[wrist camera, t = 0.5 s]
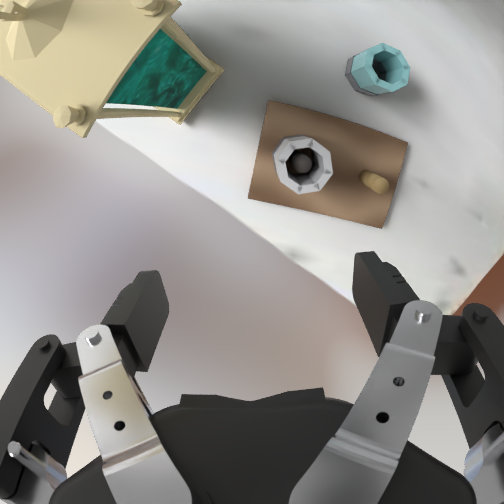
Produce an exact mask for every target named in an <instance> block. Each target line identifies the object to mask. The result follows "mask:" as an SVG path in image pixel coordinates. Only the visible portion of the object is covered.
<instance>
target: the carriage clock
mask: <svg viewBox="0 0 504 504" xmlns="http://www.w3.org/2000/svg"><path fill="white" fill-rule="evenodd" d="M181 5H182V4H181V2H180V1H178V0H0V75H1V76H2V77H3V78H5V79H6V80H7V81H8V82H10V83H11V84H12V85H14V86H15V87H16V88H18V89H19V90H20V91H21V92H23V93H24V94H25V95H27V96H28V97H29V98H30V99H32V100H33V101H34V102H36V103H37V104H38V105H39V106H41V107H42V108H43V109H45V110H46V111H47V112H49V113H50V114H51V115H53V116H54V117H53V121H54V123H55V125H56V127H58V128H64V127H66V126H67V127H68V128H70V129H71V130H72V131H73V132H75V133H76V134H77V135H79V136H80V137H81V138H85V137H87V135H88V133H89V131H90V129H91V127H92V126H93V124H94V122H95V120H96V119H103V118H121V117H169V118H171V119H172V120H174V121H175V122H176V123H178V124H179V125H181V124H182V122H183V121H184V120H185V118H186V117H187V116H188V114H189V113H190V112H191V110H192V109H193V108H194V107H195V105H196V104H197V103H198V102H199V100H200V99H201V98H202V97H203V95H204V94H205V93H206V92H207V90H208V89H209V88H210V87H211V86H212V84H213V83H214V82H215V81H216V80H217V78H218V77H219V76H220V75H221V74H222V73H223V72H224V70H225V69H223V68H222V67H220V66H219V65H218V64H216V63H215V62H213V61H212V60H210V59H208V58H207V57H205V56H204V55H203V54H202V52H201V51H200V50H199V49H198V48H197V46H196V45H195V44H194V43H193V42H192V40H191V39H190V38H189V37H188V36H187V35H186V34H185V32H184V31H183V30H182V29H181V28H180V27H179V26H178V24H177V23H176V22H175V21H174V20H173V19H172V18H171V15H172V14H173V13H174V12H175V11H176V10H177V9H178V8H179V7H180V6H181ZM175 37H176V38H177V39H176V38H175ZM106 103H114V104H131V105H144V106H154V107H155V108H156V109H158V110H147V109H120V108H103V107H104V105H105V104H106Z"/></svg>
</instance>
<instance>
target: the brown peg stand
mask: <svg viewBox="0 0 504 504" xmlns="http://www.w3.org/2000/svg"><path fill="white" fill-rule="evenodd" d="M300 134H303V135H305V136H307V137H309V138H312V139H314V140H315V141H316V142H318V143H319V144H320V145H322V146H323V147H324V148H326V149H327V150H328V151H330V155H331V162H332V170H333V173H332V176H331V177H330V178H329V180H328V181H327V182H326V184H325V185H324V186H323V188H322V189H321V190H320V191H316V192H310V193H303V194H297V193H296V192H294V191H293V190H291V189H290V188H289V187H287V186H286V185H284V184H283V183H281V182H280V180H279V177H278V175H277V174H276V172H275V168H274V163H273V157H272V151H273V150H274V148H275V147H276V146H277V144H278V143H279V142H280V140H281V139H282V137H286V136H293V135H300ZM407 145H408V143H407V142H405V141H402V140H400V139H397V138H395V137H392V136H390V135H387V134H384V133H382V132H379V131H376V130H373V129H371V128H368V127H365V126H362V125H359V124H356V123H353V122H350V121H347V120H343V119H340V118H337V117H334V116H330V115H327V114H323V113H320V112H316V111H312V110H309V109H305V108H301V107H297V106H293V105H288V104H284V103H280V102H275V101H270V100H269V101H268V104H267V109H266V114H265V118H264V123H263V127H262V132H261V137H260V141H259V146H258V151H257V156H256V160H255V165H254V170H253V175H252V180H251V184H250V189H249V194H248V199H253V200H258V201H263V202H268V203H273V204H278V205H283V206H287V207H292V208H297V209H301V210H306V211H310V212H315V213H319V214H323V215H328V216H332V217H336V218H341V219H345V220H349V221H353V222H357V223H361V224H365V225H369V226H373V227H377V228H381V229H382V227H383V224H384V221H385V218H386V216H387V213H388V210H389V206H390V203H391V200H392V197H393V194H394V191H395V188H396V184H397V181H398V177H399V174H400V171H401V167H402V163H403V160H404V156H405V152H406V148H407ZM285 163H286V168H287V170H288V171H289V172H291V173H292V174H295V173H306V172H308V171H309V170H310V169H311V166H312V157H311V151H310V149H309V148H300V149H294V151H293V152H292V154H291V155H290V156H289V158H288V159H287V160H286V162H285Z"/></svg>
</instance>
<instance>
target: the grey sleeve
mask: <svg viewBox="0 0 504 504" xmlns="http://www.w3.org/2000/svg"><path fill="white" fill-rule="evenodd" d="M300 148H309V149H310V151H311V157H312V166H311V169H310V170H309V171H308V172H306V173H295V174H292V173H291V172H289V171H288V170H287V168H286V163H285V162H286V160H287V159H288V158H289V156H290V155H291V154H292V152H293V151H294V149H300ZM272 157H273V163H274V168H275V172H276V174H277V175H278V177H279V180H280V182H281V183H283V184H284V185H286V186H287V187H289V188H290V189H291V190H293V191H294V192H296V193H297V194H303V193H310V192H316V191H320V190H321V189H322V188H323V186H324V185H325V184H326V182H327V181H328V180H329V178H330V177H331V176H332V173H333V170H332V162H331V155H330V151H328V150H327V149H326V148H324V147H323V146H322V145H320V144H319V143H318V142H316V141H315V140H314V139H312V138H309V137H307V136H305V135H303V134H300V135H293V136H286V137H282V139H281V140H280V142H279V143H278V144H277V146H276V147H275V148H274V150H273V151H272Z"/></svg>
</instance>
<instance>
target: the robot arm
mask: <svg viewBox="0 0 504 504" xmlns="http://www.w3.org/2000/svg"><path fill="white" fill-rule="evenodd" d="M352 291H353V298H354V301H355V303H356V306H357V308H358V310H359V312H360V315H361V317H362V319H363V322H364V324H365V326H366V329H367V331H368V333H369V335H370V338H371V341H372V343H373V345H374V348H375V350H376V353H377V355H378V357H379V359H378V361H377V363H376V365H375V367H374V369H373V371H372V373H371V375H370V377H369V378H368V381H367V382H366V384H365V386H364V388H363V390H362V391H361V393H360V395H359V397H358V399H357V400H356V402H355V404H351V403H349V402H346V401H343V400H340V399H334V398H327V397H325V395H324V390H323V388H315V389H306V390H297V391H288V392H284V393H281V394H277V395H274V396H270V397H266V398H263V399H259V400H255V401H244V400H238V399H233V398H228V397H223V396H218V395H188V394H182V396H181V400H180V404H178V405H174V406H170V407H167V408H164V409H162V410H160V411H158V412H156V413H153V411H152V409H151V407H150V405H149V404H148V402H147V400H146V398H145V396H144V394H143V392H142V390H141V388H140V386H139V384H138V382H137V380H136V379H135V377H134V376H135V373H136V371H141V372H147V371H148V369H149V366H150V363H151V360H152V357H153V355H154V352H155V349H156V346H157V344H158V341H159V338H160V336H161V333H162V330H163V328H164V325H165V323H166V320H167V317H168V314H169V303H168V299H167V296H166V293H165V289H164V286H163V283H162V279H161V276H160V273H159V272H158V271H157V270H152V271H141V272H139V273H138V275H137V276H136V278H135V280H134V281H133V283H132V284H129V285H128V286H127V287H125V288H124V289H123V290H122V291H121V292H120V294H119V295H118V297H117V300H115V301H114V303H113V306H111V308H110V309H109V311H108V312H107V314H106V316H105V317H104V319H103V321H102V322H101V324H100V325H94V326H91V327H88V328H87V329H85V330H84V331H83V332H81V334H80V335H79V336H78V338H77V340H76V342H74V343H69V344H64V345H62V344H61V342H60V340H59V338H58V337H57V336H56V335H46V336H43V337H42V338H40V339H39V340H37V341H36V342H35V343H34V344H33V346H32V347H31V349H30V350H29V352H28V354H27V355H26V357H25V358H24V360H23V362H22V363H21V365H20V367H19V368H18V370H17V371H16V373H15V375H14V377H13V378H12V380H11V382H10V384H9V385H8V387H7V389H6V391H5V393H4V394H3V396H2V398H1V400H0V499H1V500H2V501H4V502H6V503H7V504H504V325H503V324H502V323H501V321H500V320H499V319H498V317H497V316H496V315H495V313H494V312H493V311H492V310H491V309H490V308H488V307H486V306H485V305H482V304H478V303H472V304H468V305H467V306H465V307H464V309H463V312H462V315H461V316H452V315H442V312H441V310H440V309H439V308H438V307H437V306H436V305H434V304H433V303H431V302H428V301H423V300H420V299H419V298H418V296H417V295H416V294H415V292H414V291H413V290H412V288H411V287H410V285H409V284H408V283H407V282H406V280H405V279H404V277H403V276H402V275H401V273H400V272H399V271H398V269H397V268H396V267H394V266H393V265H391V264H389V263H388V262H382V261H381V260H380V258H379V257H378V256H377V254H376V253H375V252H374V251H370V252H360V253H356V254H355V258H354V272H353V285H352ZM478 361H479V363H480V365H481V367H482V369H483V371H484V373H485V380H484V378H483V376H482V374H481V372H480V370H479V368H478V367H477V365H476V364H477V362H478ZM430 375H441V376H442V378H443V380H444V382H445V385H446V387H447V390H448V392H449V394H450V397H451V399H452V402H453V404H454V407H455V409H456V412H457V414H458V417H459V419H460V422H461V425H462V428H463V431H464V433H465V436H466V439H467V442H468V445H469V448H470V450H469V451H468V453H467V455H466V458H465V469H464V476H465V477H464V476H463V475H462V474H460V473H459V472H457V471H455V470H454V469H452V468H450V467H449V466H447V465H445V464H444V463H442V462H441V461H439V460H437V459H436V458H434V457H432V456H431V455H429V454H428V453H426V452H425V451H423V450H422V449H420V448H418V447H417V446H415V445H414V444H412V443H411V442H409V441H408V437H409V435H410V432H411V430H412V427H413V425H414V422H415V420H416V417H417V414H418V412H419V409H420V406H421V403H422V400H423V397H424V394H425V391H426V388H427V385H428V382H429V379H430ZM50 383H52V385H53V386H54V387H55V389H56V390H57V392H56V394H55V396H54V398H53V400H52V403H51V405H50V407H49V409H48V410H47V409H46V408H45V405H44V395H45V393H46V391H47V389H48V387H49V385H50ZM85 408H86V411H87V415H88V418H89V421H90V425H91V428H92V431H93V434H94V437H95V440H96V443H97V445H98V448H99V451H100V454H101V455H100V456H98V457H97V458H96V459H94V460H93V461H91V462H90V463H89V464H87V465H86V466H85V467H83V468H82V469H80V470H79V471H78V472H76V473H75V474H73V475H72V476H71V477H70V478H68V479H67V473H66V470H65V468H66V465H67V462H68V458H69V455H70V452H71V449H72V446H73V442H74V439H75V436H76V433H77V431H78V427H79V425H80V422H81V419H82V416H83V413H84V411H85Z"/></svg>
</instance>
